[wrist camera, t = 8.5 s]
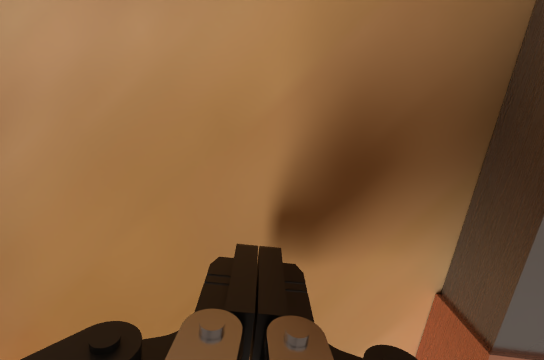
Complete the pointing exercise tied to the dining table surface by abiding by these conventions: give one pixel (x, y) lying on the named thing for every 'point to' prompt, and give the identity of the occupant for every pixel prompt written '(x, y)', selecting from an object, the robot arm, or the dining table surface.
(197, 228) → the dining table surface
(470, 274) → the tong arm
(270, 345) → the robot arm
